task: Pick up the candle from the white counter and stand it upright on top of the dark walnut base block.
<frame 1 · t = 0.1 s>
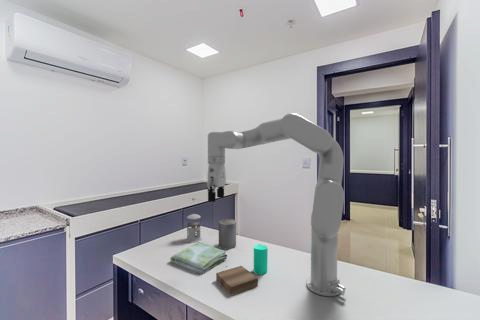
hand: (216, 199, 104), 31 cm above the worktop, tool pointing down, fingers open, 9 cm apart
candle: (260, 271, 104), on the worktop
walnut base: (236, 282, 94), on the worktop
pillar candle: (227, 246, 132), on the worktop
french press: (194, 239, 141), on the worktop
towel: (199, 261, 113), on the worktop
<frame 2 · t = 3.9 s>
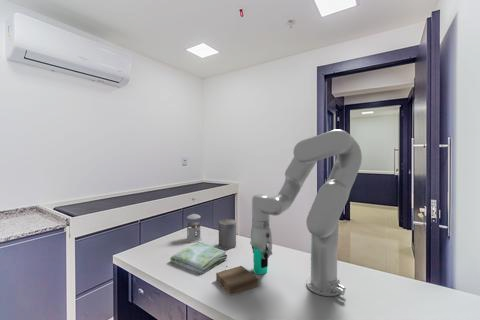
hand: (260, 264, 104), 3 cm above the worktop, tool pointing down, fingers closed on candle, 4 cm apart
candle: (260, 271, 104), on the worktop, touching gripper
everything else where it was.
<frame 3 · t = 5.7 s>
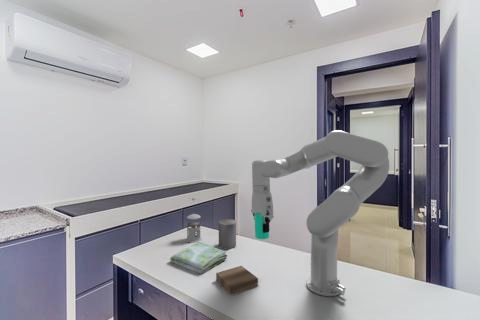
hand: (262, 230, 103), 18 cm above the worktop, tool pointing down, fingers closed on candle, 4 cm apart
candle: (262, 237, 103), point 15 cm above the worktop, touching gripper
everything else where it was.
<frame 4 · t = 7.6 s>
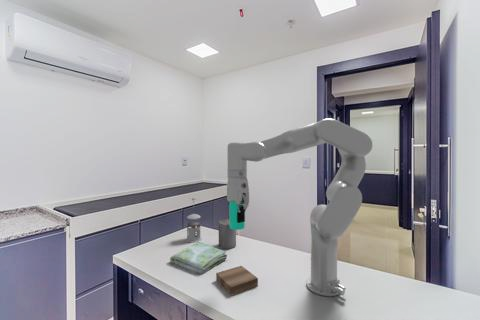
hand: (237, 219, 93), 25 cm above the worktop, tool pointing down, fingers closed on candle, 4 cm apart
candle: (237, 227, 93), point 22 cm above the worktop, touching gripper
everything else where it was.
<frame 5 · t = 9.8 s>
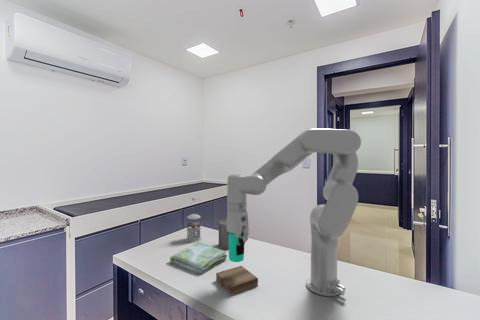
hand: (236, 251, 94), 13 cm above the worktop, tool pointing down, fingers closed on candle, 4 cm apart
candle: (236, 259, 94), point 10 cm above the worktop, touching gripper
everything else where it was.
when the fingers open (7 cm above the worktop, at t = 11.7 s): candle drops 1 cm, resting on walnut base.
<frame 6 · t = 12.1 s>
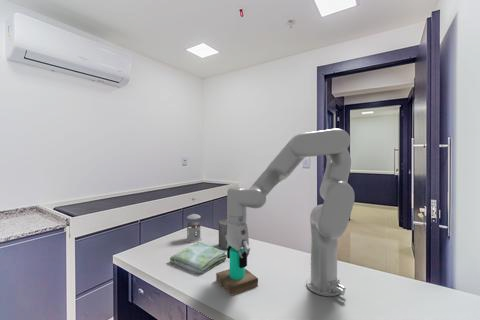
hand: (236, 262, 94), 8 cm above the worktop, tool pointing down, fingers open, 9 cm apart
candle: (237, 275, 94), point 3 cm above the worktop, touching walnut base
everything else where it was.
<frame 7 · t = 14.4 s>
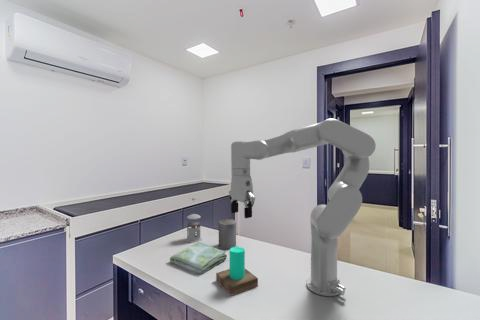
hand: (241, 214, 95), 27 cm above the worktop, tool pointing down, fingers open, 9 cm apart
nothing on the worktop moved.
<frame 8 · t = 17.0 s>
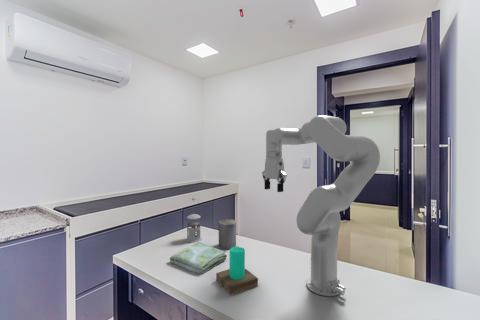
hand: (273, 190, 116), 33 cm above the worktop, tool pointing down, fingers open, 9 cm apart
nothing on the worktop moved.
at the end: candle inside the target area on the walnut base (0.1 cm from its centre), point 2.8 cm above the walnut base's base; candle tilted 0°; the gripper is holding nothing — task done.
